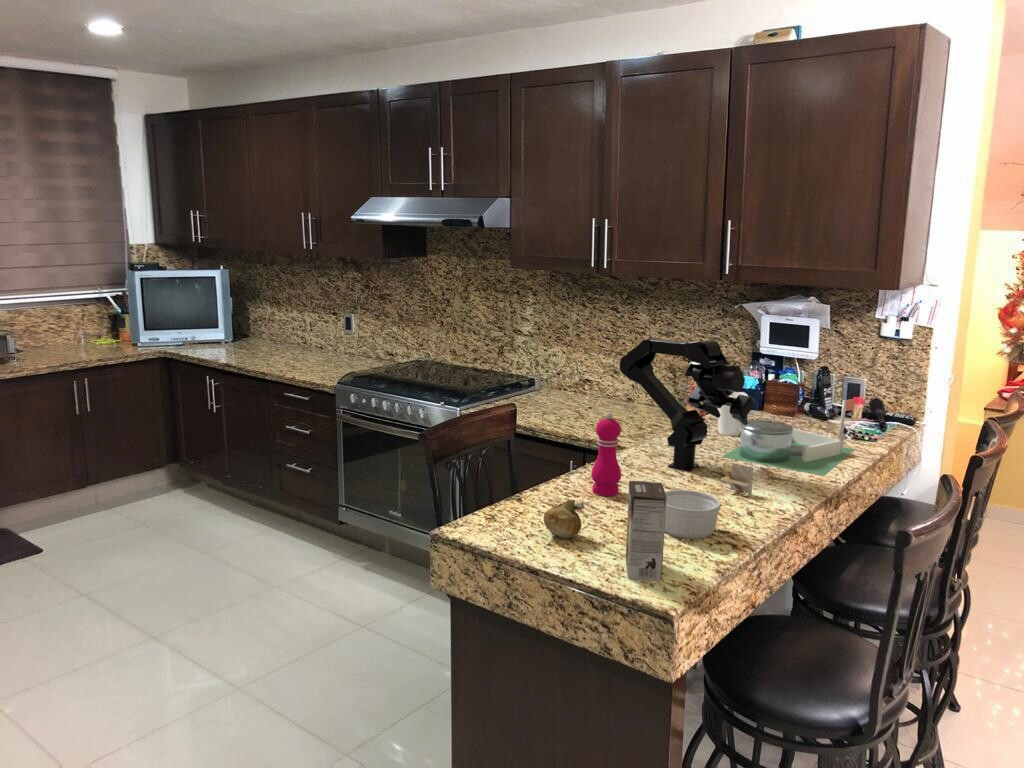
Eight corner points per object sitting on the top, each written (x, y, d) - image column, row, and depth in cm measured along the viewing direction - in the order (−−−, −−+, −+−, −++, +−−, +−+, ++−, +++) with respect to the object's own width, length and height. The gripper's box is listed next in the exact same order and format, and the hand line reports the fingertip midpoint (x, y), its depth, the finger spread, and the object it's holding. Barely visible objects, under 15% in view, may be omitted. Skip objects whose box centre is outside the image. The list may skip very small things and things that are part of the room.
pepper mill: (603, 485, 199) (606, 408, 195) (626, 492, 194) (630, 413, 190) (584, 491, 194) (587, 412, 190) (607, 499, 189) (611, 417, 185)
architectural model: (745, 499, 193) (747, 470, 191) (719, 493, 197) (721, 464, 196) (751, 496, 195) (754, 467, 194) (726, 490, 200) (728, 461, 198)
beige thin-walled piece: (804, 462, 224) (810, 406, 221) (747, 446, 240) (752, 394, 237) (850, 451, 236) (856, 399, 233) (793, 437, 252) (798, 387, 249)
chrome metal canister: (781, 466, 219) (784, 434, 218) (731, 456, 227) (733, 426, 226) (796, 455, 231) (799, 425, 229) (748, 446, 239) (750, 417, 237)
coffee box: (624, 559, 154) (628, 479, 151) (657, 561, 154) (662, 481, 151) (626, 579, 145) (631, 495, 142) (662, 581, 145) (667, 497, 142)
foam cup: (747, 437, 251) (750, 397, 248) (718, 437, 251) (721, 396, 248) (739, 430, 260) (742, 391, 258) (711, 429, 260) (714, 390, 258)
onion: (550, 527, 170) (551, 491, 169) (586, 533, 167) (587, 497, 166) (537, 539, 163) (539, 502, 162) (574, 545, 160) (576, 508, 159)
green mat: (824, 476, 211) (824, 476, 211) (721, 457, 227) (721, 456, 227) (855, 449, 239) (855, 449, 239) (761, 434, 255) (761, 433, 255)
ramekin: (730, 539, 166) (732, 507, 165) (673, 544, 162) (675, 512, 161) (698, 517, 179) (700, 487, 177) (645, 522, 175) (646, 491, 174)
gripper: (754, 367, 205) (776, 404, 214) (698, 356, 220) (721, 392, 228) (731, 399, 202) (754, 436, 210) (676, 386, 217) (700, 421, 225)
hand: (732, 420), depth 219 cm, fingers open, 9 cm apart
